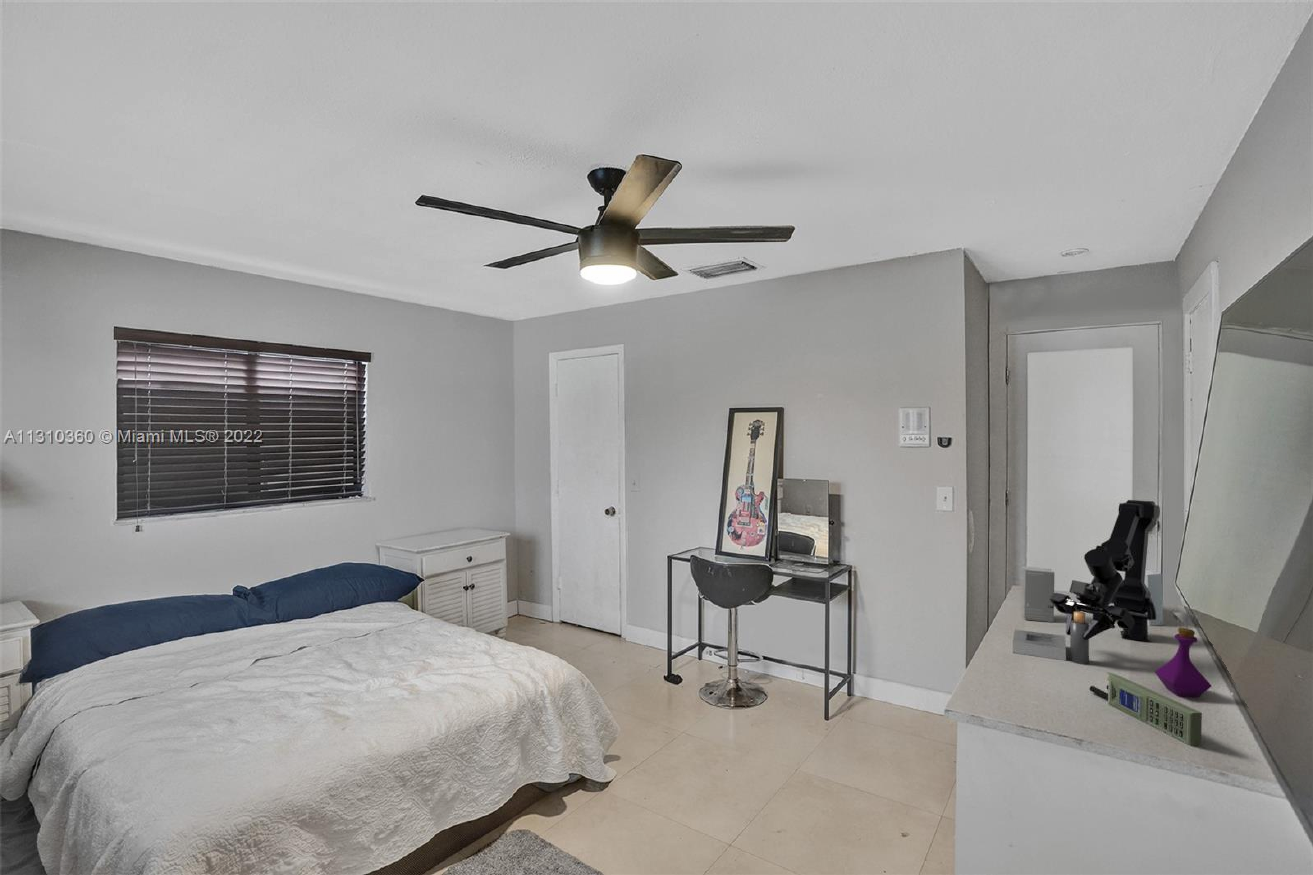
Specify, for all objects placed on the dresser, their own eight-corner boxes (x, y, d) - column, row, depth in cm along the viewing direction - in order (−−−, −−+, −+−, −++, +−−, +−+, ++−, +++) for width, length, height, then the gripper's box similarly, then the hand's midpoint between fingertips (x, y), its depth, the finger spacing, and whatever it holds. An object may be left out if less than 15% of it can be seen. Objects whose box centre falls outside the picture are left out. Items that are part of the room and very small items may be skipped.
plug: (1070, 657, 167) (1069, 609, 167) (1088, 660, 165) (1088, 612, 165) (1070, 662, 164) (1070, 613, 164) (1089, 665, 162) (1089, 615, 162)
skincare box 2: (1093, 607, 214) (1092, 560, 214) (1108, 606, 214) (1107, 559, 214) (1148, 626, 193) (1147, 573, 193) (1164, 625, 194) (1164, 572, 193)
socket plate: (1015, 640, 182) (1015, 629, 182) (1065, 647, 175) (1065, 636, 175) (1012, 652, 172) (1012, 641, 172) (1065, 660, 165) (1065, 648, 165)
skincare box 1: (1024, 620, 200) (1023, 569, 200) (1020, 614, 207) (1020, 565, 207) (1055, 623, 197) (1055, 571, 197) (1051, 616, 204) (1050, 567, 204)
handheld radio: (1189, 748, 120) (1084, 694, 145) (1204, 747, 120) (1097, 694, 145) (1190, 712, 120) (1085, 664, 145) (1205, 712, 120) (1098, 664, 145)
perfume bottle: (1212, 701, 140) (1211, 618, 140) (1173, 698, 141) (1172, 617, 141) (1191, 687, 147) (1190, 609, 147) (1154, 685, 149) (1153, 608, 149)
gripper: (1053, 562, 174) (1026, 608, 170) (1127, 576, 157) (1099, 627, 153) (1072, 588, 178) (1046, 633, 173) (1147, 604, 161) (1120, 655, 156)
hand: (1075, 636), depth 164 cm, fingers closed on plug, 4 cm apart
